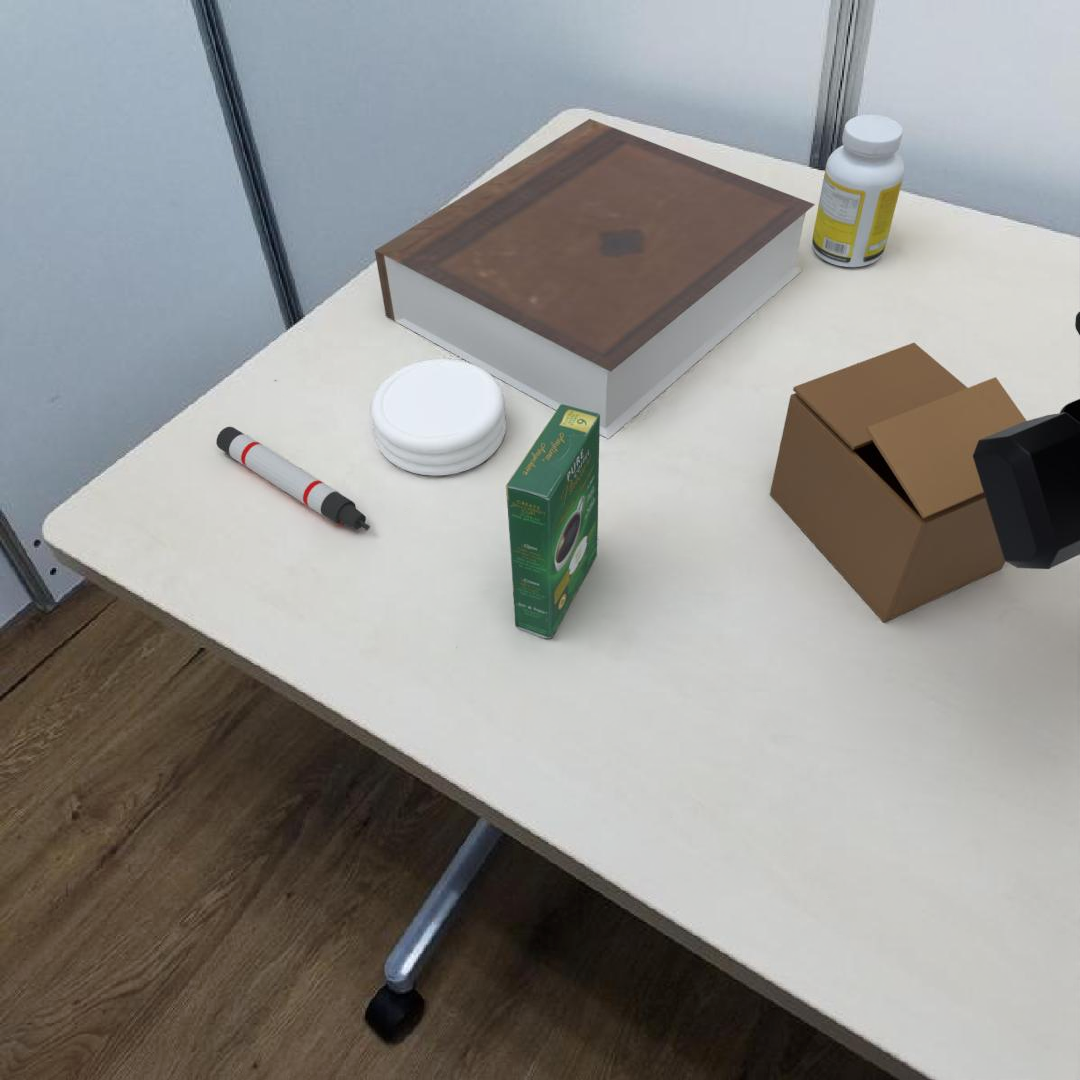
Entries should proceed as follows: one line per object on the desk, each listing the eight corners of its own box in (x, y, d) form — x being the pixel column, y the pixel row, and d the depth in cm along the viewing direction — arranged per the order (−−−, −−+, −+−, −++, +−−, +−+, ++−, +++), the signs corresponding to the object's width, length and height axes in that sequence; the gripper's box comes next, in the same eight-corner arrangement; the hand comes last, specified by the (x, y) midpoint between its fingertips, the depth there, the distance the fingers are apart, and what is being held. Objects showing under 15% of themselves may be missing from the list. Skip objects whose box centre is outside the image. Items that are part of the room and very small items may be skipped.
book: (386, 316, 88) (374, 250, 83) (589, 182, 101) (589, 118, 96) (608, 439, 77) (610, 371, 72) (802, 270, 90) (815, 204, 85)
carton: (1001, 568, 68) (1056, 461, 60) (883, 622, 65) (924, 517, 57) (879, 450, 75) (914, 341, 68) (769, 494, 73) (792, 386, 65)
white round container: (350, 453, 77) (342, 419, 74) (420, 376, 82) (415, 341, 80) (464, 496, 73) (460, 461, 71) (529, 412, 79) (527, 377, 76)
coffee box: (562, 541, 70) (559, 397, 60) (600, 553, 69) (604, 410, 60) (511, 627, 66) (500, 487, 56) (552, 642, 65) (547, 502, 55)
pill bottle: (887, 236, 94) (919, 114, 85) (878, 276, 90) (911, 152, 81) (816, 225, 95) (840, 104, 86) (804, 263, 91) (828, 141, 82)
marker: (220, 454, 77) (212, 435, 75) (240, 440, 78) (233, 421, 76) (363, 547, 70) (358, 528, 69) (382, 530, 71) (378, 511, 70)
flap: (1052, 463, 60) (1055, 460, 60) (922, 518, 58) (925, 516, 57) (993, 379, 62) (996, 376, 62) (865, 429, 60) (867, 427, 59)
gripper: (1423, 168, 42) (1112, 265, 57) (1085, 295, 37) (841, 365, 52) (1487, 422, 43) (1165, 452, 58) (1168, 579, 38) (905, 568, 53)
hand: (1025, 454), depth 55 cm, fingers closed
